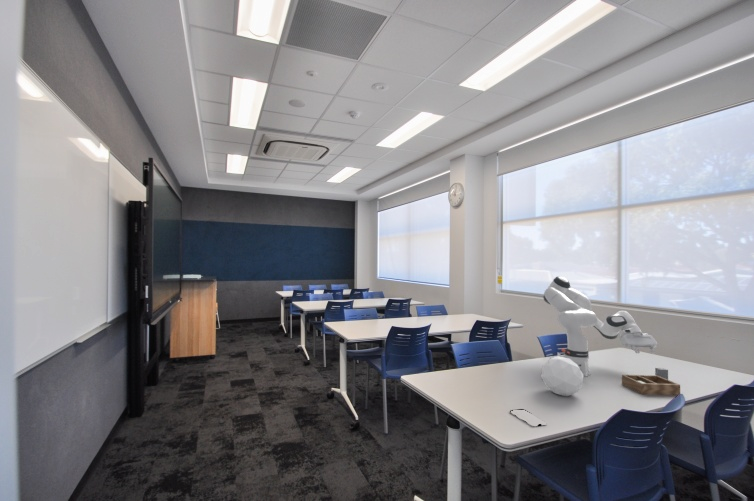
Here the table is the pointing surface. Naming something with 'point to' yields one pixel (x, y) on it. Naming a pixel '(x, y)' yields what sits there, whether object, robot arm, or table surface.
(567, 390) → the geometric polyhedron
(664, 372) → the connector
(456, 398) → the table surface
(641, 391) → the parts box
